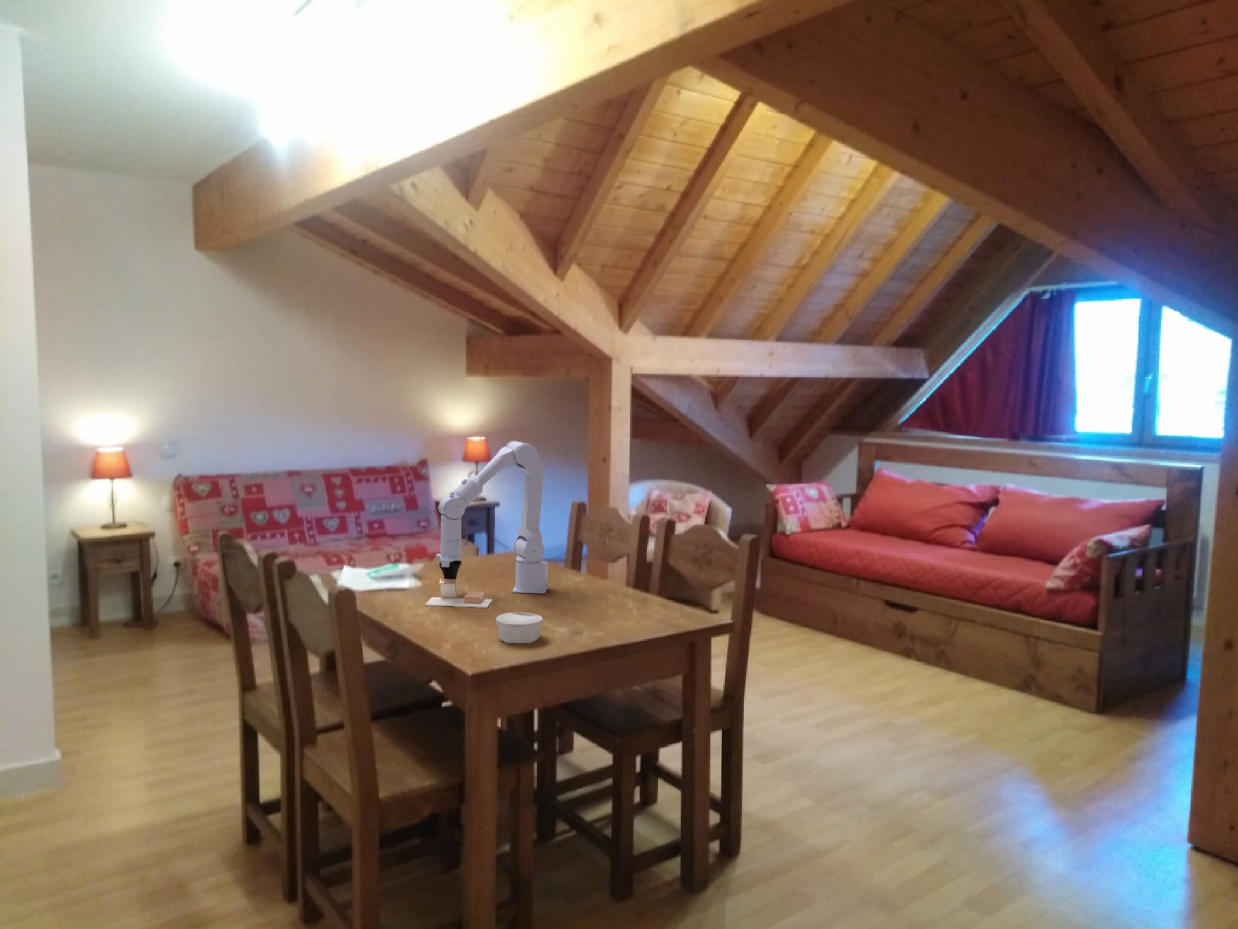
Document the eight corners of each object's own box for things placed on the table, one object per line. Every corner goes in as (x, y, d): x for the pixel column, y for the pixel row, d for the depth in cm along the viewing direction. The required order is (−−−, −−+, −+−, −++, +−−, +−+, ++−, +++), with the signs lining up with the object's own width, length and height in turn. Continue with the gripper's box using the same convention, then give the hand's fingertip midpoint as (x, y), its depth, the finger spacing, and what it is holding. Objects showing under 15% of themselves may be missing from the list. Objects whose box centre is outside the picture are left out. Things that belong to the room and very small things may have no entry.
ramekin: (545, 633, 220) (545, 612, 219) (539, 647, 209) (539, 625, 208) (500, 631, 220) (500, 610, 219) (491, 645, 209) (492, 623, 208)
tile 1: (458, 594, 251) (456, 579, 248) (457, 599, 250) (455, 583, 246) (442, 594, 251) (440, 578, 248) (441, 598, 250) (439, 583, 246)
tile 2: (484, 592, 249) (480, 597, 244) (483, 598, 250) (480, 603, 244) (468, 591, 250) (463, 596, 244) (468, 597, 250) (463, 603, 244)
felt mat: (492, 600, 249) (492, 599, 249) (487, 608, 241) (487, 606, 241) (431, 598, 249) (431, 597, 249) (425, 605, 241) (425, 604, 241)
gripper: (442, 534, 257) (441, 580, 258) (430, 543, 242) (430, 592, 244) (466, 535, 256) (466, 581, 258) (456, 544, 242) (455, 593, 243)
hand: (450, 587), depth 251 cm, fingers closed
